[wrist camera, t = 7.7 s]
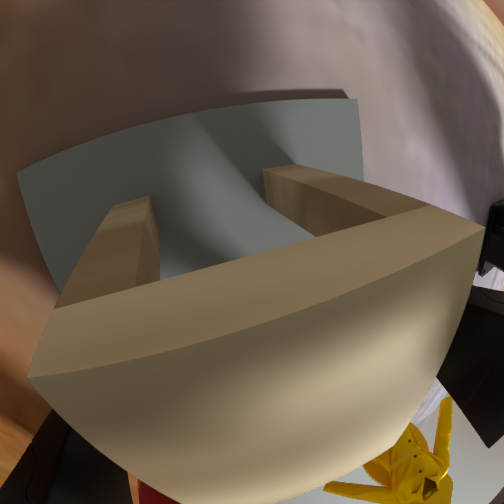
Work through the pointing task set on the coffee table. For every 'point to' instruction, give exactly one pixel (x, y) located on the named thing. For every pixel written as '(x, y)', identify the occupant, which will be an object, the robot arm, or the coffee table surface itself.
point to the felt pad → (190, 181)
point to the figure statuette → (408, 469)
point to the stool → (259, 342)
